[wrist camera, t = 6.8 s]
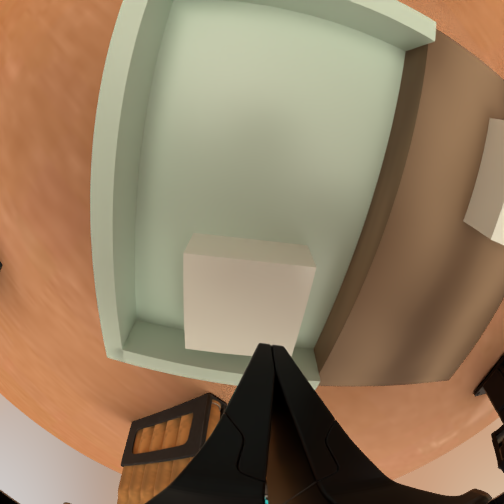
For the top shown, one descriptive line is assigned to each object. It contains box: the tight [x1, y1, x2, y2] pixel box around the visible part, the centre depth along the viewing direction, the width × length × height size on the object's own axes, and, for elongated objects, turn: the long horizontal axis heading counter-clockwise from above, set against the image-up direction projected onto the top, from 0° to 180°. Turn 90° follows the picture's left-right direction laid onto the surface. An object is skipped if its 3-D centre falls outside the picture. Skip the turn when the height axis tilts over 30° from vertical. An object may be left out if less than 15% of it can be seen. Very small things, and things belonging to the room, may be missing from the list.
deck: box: [314, 29, 504, 386], centre depth 12 cm, size 11×18×2 cm, turn 169°
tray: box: [90, 0, 436, 390], centre depth 10 cm, size 11×18×3 cm, turn 169°
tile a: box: [183, 233, 316, 357], centre depth 12 cm, size 5×5×2 cm
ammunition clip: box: [117, 393, 227, 504], centre depth 14 cm, size 11×2×12 cm, turn 129°
